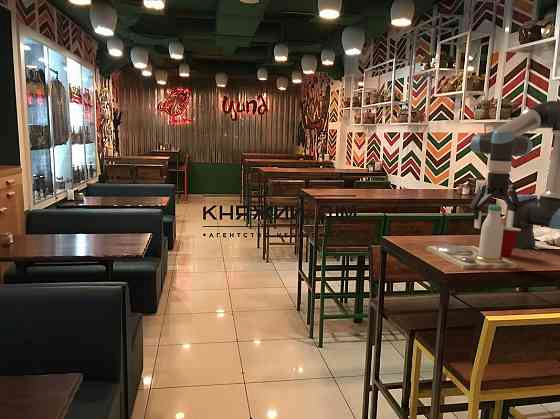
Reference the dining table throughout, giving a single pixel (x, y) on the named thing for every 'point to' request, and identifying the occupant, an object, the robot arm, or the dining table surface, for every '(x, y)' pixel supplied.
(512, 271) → the dining table surface
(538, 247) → the dining table surface
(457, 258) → the fitting board
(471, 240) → the dining table surface
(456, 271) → the dining table surface
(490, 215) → the milk bottle
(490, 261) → the flange dn80
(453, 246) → the flange large
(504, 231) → the plastic cup
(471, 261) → the flange small
